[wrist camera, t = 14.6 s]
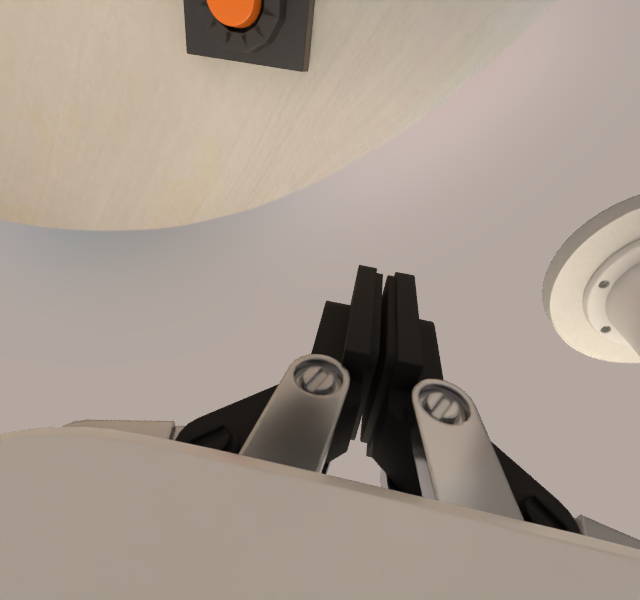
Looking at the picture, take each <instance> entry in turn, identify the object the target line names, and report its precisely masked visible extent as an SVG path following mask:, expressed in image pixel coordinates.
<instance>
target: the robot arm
mask: <svg viewBox="0 0 640 600" xmlns="http://www.w3.org/2000/svg"><path fill="white" fill-rule="evenodd" d="M376 272H377V268H372V267H367V266H362V265H359V268H358V272H357V277H356V281H355V286H354V291H353V296H352V300H351V305H345V304H341V303H335V302H331V301H326V303H325V307H324V310H323V314H322V318H321V321H320V325H319V328H318V332H317V336H316V339H315V343H314V346H313V350H312V353H311V354H309V355H305V356H301V357H299V358H298V359H296V360H295V361H294V362H293V363H292V364H291V365H290V366H289V368H288V369H287V371H286V373H285V375H284V376H283V378H282V380H281V381H280V383H279V384H278V385H276V386H273V387H271V388H269V389H266V390H264V391H262V392H259V393H257V394H254V395H252V396H250V397H247V398H245V399H243V400H240V401H238V402H235V403H233V404H231V405H228V406H226V407H224V408H221V409H219V410H216V411H214V412H212V413H209V414H207V415H204V416H202V417H200V418H197V419H196V420H194V421H192V422H191V423H189V424H187V426H175V422H174V421H129V420H128V421H127V420H126V421H125V420H82V421H74V422H72V423H69V424H67V425H64V426H62V427H46V428H36V429H28V430H19V431H13V432H8V433H3V434H0V600H640V540H638V539H636V538H633V537H631V536H629V535H626V534H624V533H622V532H619V531H617V530H615V529H612V528H610V527H608V526H605V525H603V524H601V523H598V522H596V521H594V520H592V519H589V518H587V517H585V516H582V515H579V516H578V517H577V518H576V519H575V518H573V517H572V515H571V514H570V512H569V511H568V510H567V509H566V508H565V507H564V506H563V505H562V504H561V503H560V502H559V501H558V500H557V499H556V498H555V497H554V496H553V495H552V494H550V493H549V492H548V491H547V490H546V489H545V488H544V487H542V486H541V485H540V484H539V483H538V482H537V481H536V480H534V479H533V478H532V477H531V476H530V475H529V474H527V473H526V472H525V471H524V470H523V469H522V468H521V467H520V466H518V465H517V464H516V463H515V462H514V461H513V460H512V459H510V458H509V457H508V456H507V455H506V454H505V453H504V452H502V451H501V450H500V449H499V448H498V447H497V446H496V445H494V444H493V443H492V442H491V441H490V439H489V436H488V434H487V431H486V429H485V427H484V424H483V422H482V420H481V417H480V415H479V413H478V410H477V408H476V406H475V404H474V402H473V401H472V399H471V398H470V397H469V396H468V395H467V394H466V393H465V392H464V391H463V390H462V389H460V388H459V387H457V386H456V385H454V384H452V383H449V382H447V381H444V380H443V374H442V368H441V362H440V356H439V350H438V344H437V338H436V332H435V326H434V323H433V322H431V321H426V320H421V319H419V314H418V304H417V296H416V286H415V277H414V276H413V275H409V274H404V273H398V272H396V273H395V276H387V280H386V283H385V287H384V291H383V294H382V279H383V274H379V273H376ZM583 311H584V314H585V317H586V319H587V321H588V322H589V324H590V325H591V327H592V328H593V329H594V330H595V331H596V333H597V334H599V335H600V336H601V337H603V338H605V339H606V340H608V341H610V342H613V343H615V344H618V345H623V346H628V347H632V348H633V349H634V350H635V352H636V353H637V354H638V355H639V356H640V239H639V240H637V241H635V242H633V243H631V244H629V245H628V246H626V247H624V248H622V249H621V250H619V251H618V252H616V253H615V254H614V255H613V256H611V257H610V258H609V259H607V260H606V261H605V262H604V263H603V264H602V265H601V266H600V267H599V268H598V269H597V271H596V272H595V274H594V275H593V276H592V278H591V279H590V281H589V283H588V285H587V287H586V290H585V293H584V298H583ZM361 417H362V425H361V438H360V440H361V442H364V443H367V456H368V457H372V458H373V459H374V460H375V461H376V462H377V463H378V465H379V466H380V467H381V468H382V470H381V474H380V482H381V487H378V486H373V485H369V484H365V483H360V482H356V481H352V480H347V479H343V478H339V477H335V476H330V475H327V472H328V469H329V466H330V462H331V461H332V460H333V459H335V458H337V457H338V456H340V455H342V454H343V453H345V452H346V451H347V449H348V446H349V442H350V439H351V440H354V439H355V437H356V434H357V430H358V427H359V424H360V420H361Z"/></svg>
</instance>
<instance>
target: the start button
mask: <svg viewBox="0 0 640 600" xmlns="http://www.w3.org/2000/svg"><path fill="white" fill-rule="evenodd" d="M207 3H208V6H209V8H210V10H211V12H212V14H213V15H214V16H215V18H216V19H217V20H218V21H220V22H221V23H223V24H225V25H227V26H231V27H235V28H245V27H248V26H250V25H251V24H252V23H254V21H255V20H256V19H257V17H258V15H259V13H260V9H261V3H262V0H207Z"/></svg>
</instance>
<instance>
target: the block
mask: <svg viewBox="0 0 640 600" xmlns="http://www.w3.org/2000/svg"><path fill="white" fill-rule="evenodd" d="M314 2H315V0H262V3H261V9H260V13H259V15H258V17H257V19H256V20H255V21H254V23H252V24H251V25H250V26H248V27H245V28H235V27H231V26H227V25H225V24H223V23H221V22H220V21H218V20H217V19H216V18H215V16H214V15H213V14H212V12H211V10H210V8H209V6H208V3H207V0H184V15H185V30H186V46H187V53H188V54H193V55H200V56H206V57H212V58H219V59H225V60H232V61H238V62H244V63H251V64H257V65H263V66H270V67H276V68H282V69H289V70H295V71H301V72H305V71H308V67H309V56H310V46H311V35H312V24H313V13H314Z"/></svg>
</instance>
